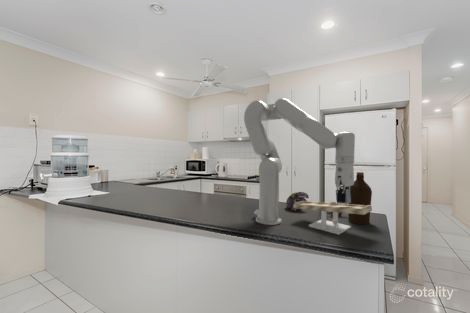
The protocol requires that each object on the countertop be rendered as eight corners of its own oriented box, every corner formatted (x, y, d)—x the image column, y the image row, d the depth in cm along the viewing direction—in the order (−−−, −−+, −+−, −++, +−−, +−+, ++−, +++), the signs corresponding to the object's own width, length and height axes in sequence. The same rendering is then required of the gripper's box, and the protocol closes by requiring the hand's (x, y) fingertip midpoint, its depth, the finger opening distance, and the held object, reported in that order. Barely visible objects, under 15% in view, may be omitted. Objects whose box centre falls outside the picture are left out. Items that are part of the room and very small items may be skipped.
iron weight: (336, 203, 102) (335, 189, 102) (340, 201, 105) (339, 188, 105) (347, 204, 99) (346, 190, 99) (351, 202, 102) (349, 189, 102)
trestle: (308, 226, 107) (308, 208, 107) (321, 220, 116) (322, 204, 116) (338, 234, 97) (339, 214, 97) (350, 227, 106) (351, 209, 106)
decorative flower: (279, 191, 144) (302, 185, 144) (283, 207, 147) (305, 201, 147) (285, 202, 130) (311, 195, 130) (289, 220, 134) (314, 213, 133)
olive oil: (375, 225, 111) (377, 173, 111) (355, 225, 110) (356, 173, 110) (361, 218, 122) (363, 171, 121) (342, 218, 121) (344, 171, 120)
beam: (293, 210, 114) (293, 203, 114) (304, 206, 122) (304, 200, 122) (363, 217, 91) (363, 208, 91) (372, 212, 98) (371, 204, 99)
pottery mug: (326, 218, 123) (321, 203, 127) (325, 221, 131) (321, 207, 135) (349, 214, 121) (344, 199, 124) (347, 217, 129) (342, 203, 133)
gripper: (346, 160, 93) (344, 205, 93) (360, 160, 105) (359, 200, 105) (327, 160, 98) (326, 202, 99) (343, 159, 110) (342, 197, 111)
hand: (343, 200), depth 102 cm, fingers closed on iron weight, 4 cm apart
